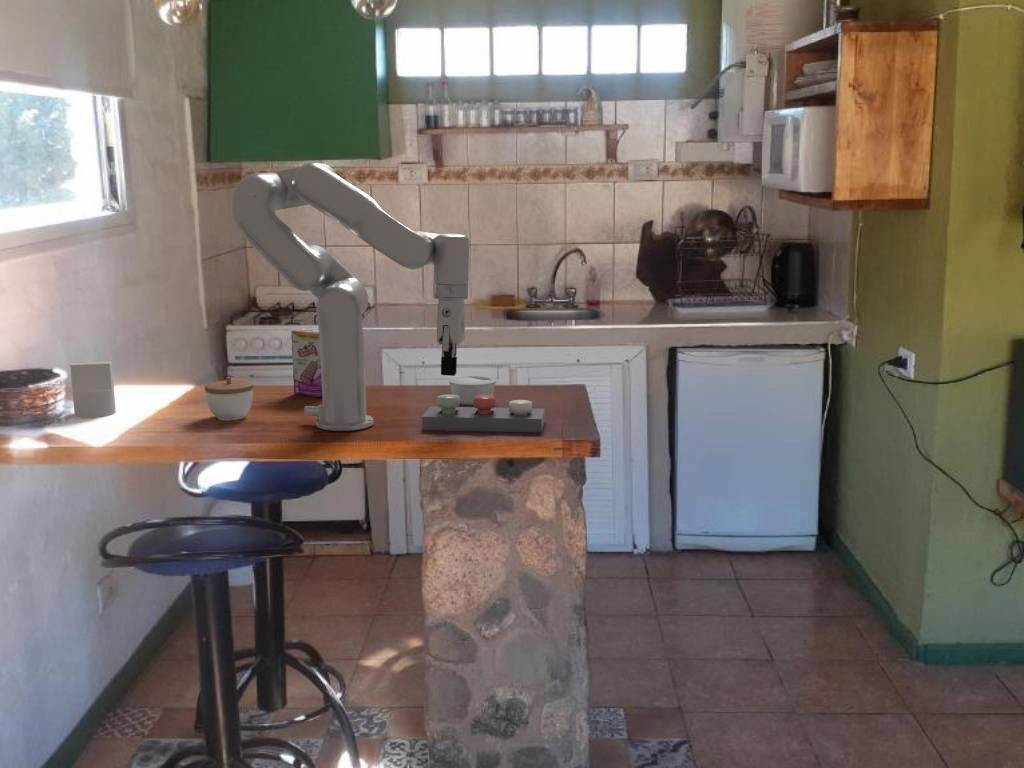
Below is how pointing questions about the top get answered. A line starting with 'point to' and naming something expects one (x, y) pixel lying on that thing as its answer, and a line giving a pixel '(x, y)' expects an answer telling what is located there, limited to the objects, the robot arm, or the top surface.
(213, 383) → the lidded jar
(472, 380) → the ramekin
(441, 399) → the button sage
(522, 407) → the button cream
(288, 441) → the top surface
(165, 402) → the top surface
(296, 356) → the candy bar box
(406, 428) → the top surface
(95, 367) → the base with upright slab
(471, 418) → the button panel
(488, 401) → the button red
